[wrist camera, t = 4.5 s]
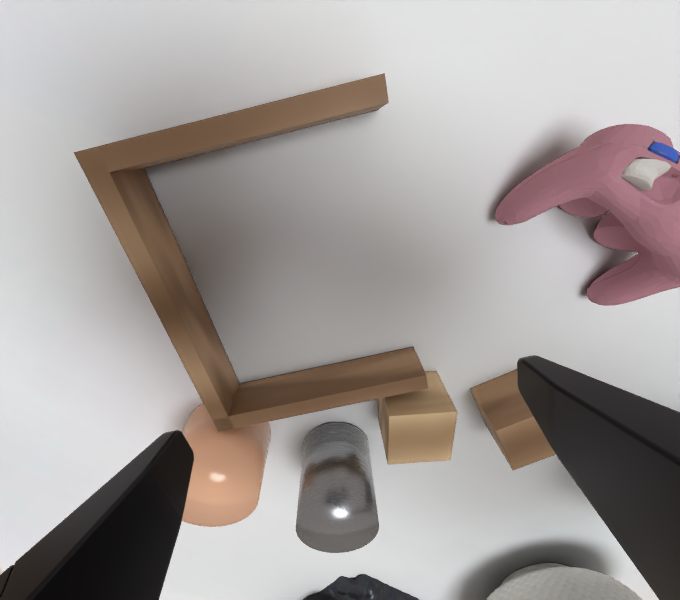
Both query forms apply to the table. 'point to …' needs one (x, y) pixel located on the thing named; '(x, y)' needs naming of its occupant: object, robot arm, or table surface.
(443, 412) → the oak cube
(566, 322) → the table surface
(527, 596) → the cereal bowl
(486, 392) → the walnut cube
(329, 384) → the frame
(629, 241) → the video game controller
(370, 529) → the dark tin
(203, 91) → the table surface
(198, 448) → the peach cylinder puck
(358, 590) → the dark slate chunk
